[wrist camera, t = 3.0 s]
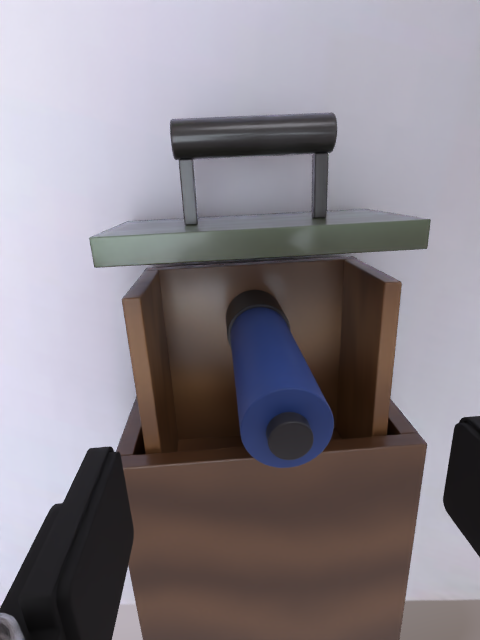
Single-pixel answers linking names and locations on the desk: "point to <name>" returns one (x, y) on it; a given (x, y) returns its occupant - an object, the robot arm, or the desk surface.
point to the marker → (274, 385)
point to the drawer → (269, 276)
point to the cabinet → (274, 538)
